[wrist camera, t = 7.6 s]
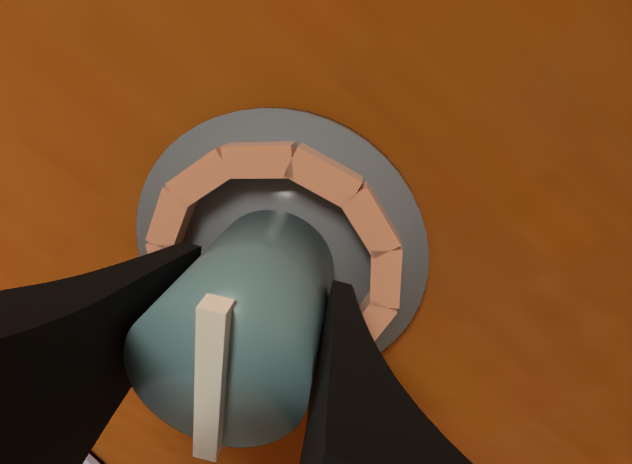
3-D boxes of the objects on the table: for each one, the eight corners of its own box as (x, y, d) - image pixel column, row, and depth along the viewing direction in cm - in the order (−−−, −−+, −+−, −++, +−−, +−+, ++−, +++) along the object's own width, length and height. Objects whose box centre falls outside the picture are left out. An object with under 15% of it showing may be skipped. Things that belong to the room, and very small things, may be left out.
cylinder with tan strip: (322, 326, 14) (290, 482, 8) (215, 302, 14) (120, 437, 9) (345, 221, 12) (323, 337, 6) (221, 195, 12) (103, 285, 7)
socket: (253, 391, 17) (242, 420, 15) (95, 205, 14) (63, 220, 12) (475, 307, 13) (488, 335, 12) (324, 33, 10) (317, 25, 9)
